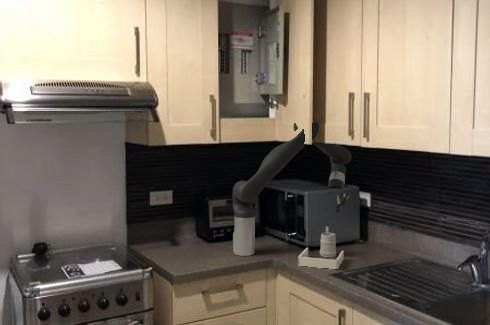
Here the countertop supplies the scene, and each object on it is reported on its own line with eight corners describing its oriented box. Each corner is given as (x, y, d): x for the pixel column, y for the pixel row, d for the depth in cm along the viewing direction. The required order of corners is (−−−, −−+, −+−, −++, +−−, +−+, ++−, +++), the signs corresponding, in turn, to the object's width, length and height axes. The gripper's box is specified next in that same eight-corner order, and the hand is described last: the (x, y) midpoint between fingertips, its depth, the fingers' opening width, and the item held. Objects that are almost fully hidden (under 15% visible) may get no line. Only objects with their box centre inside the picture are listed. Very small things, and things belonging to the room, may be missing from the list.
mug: (320, 257, 240) (320, 231, 239) (318, 250, 252) (318, 225, 251) (337, 258, 240) (338, 231, 239) (334, 251, 252) (335, 225, 250)
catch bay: (306, 256, 242) (306, 247, 242) (343, 259, 237) (343, 250, 237) (297, 266, 227) (298, 256, 226) (337, 270, 221) (337, 260, 221)
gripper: (321, 177, 263) (315, 206, 253) (350, 178, 258) (346, 208, 248) (323, 186, 269) (317, 215, 258) (351, 188, 264) (347, 217, 254)
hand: (331, 211), depth 253 cm, fingers open, 4 cm apart
